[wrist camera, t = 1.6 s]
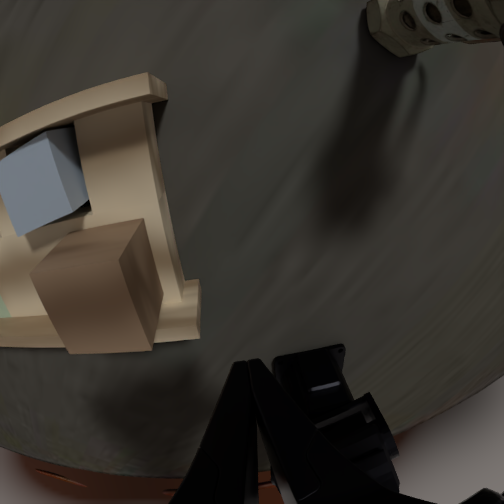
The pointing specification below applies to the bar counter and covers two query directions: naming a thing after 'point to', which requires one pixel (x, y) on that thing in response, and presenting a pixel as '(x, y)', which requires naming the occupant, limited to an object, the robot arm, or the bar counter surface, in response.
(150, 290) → the walnut block
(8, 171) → the trapped block
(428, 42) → the grenade model
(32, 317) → the box
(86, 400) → the bar counter surface
